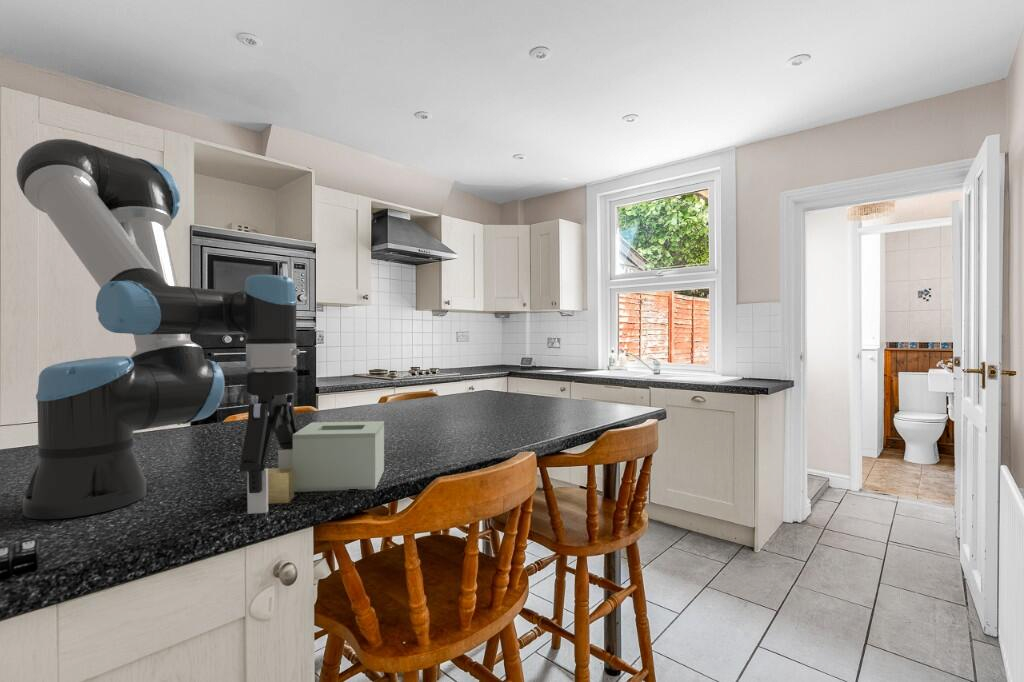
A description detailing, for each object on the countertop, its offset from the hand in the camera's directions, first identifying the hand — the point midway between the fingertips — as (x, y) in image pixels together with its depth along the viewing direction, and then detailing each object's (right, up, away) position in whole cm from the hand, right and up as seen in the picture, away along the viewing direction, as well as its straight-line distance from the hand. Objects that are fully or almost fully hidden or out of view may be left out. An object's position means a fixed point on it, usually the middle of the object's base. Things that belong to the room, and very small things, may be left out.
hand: (273, 498), depth 82 cm
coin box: (+7, 0, +11) cm, 13 cm away
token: (0, -1, 0) cm, 1 cm away
